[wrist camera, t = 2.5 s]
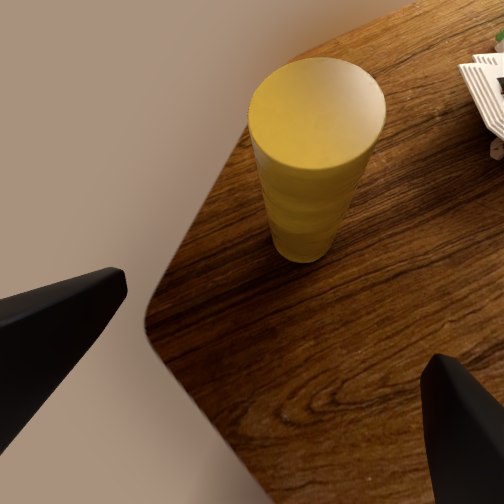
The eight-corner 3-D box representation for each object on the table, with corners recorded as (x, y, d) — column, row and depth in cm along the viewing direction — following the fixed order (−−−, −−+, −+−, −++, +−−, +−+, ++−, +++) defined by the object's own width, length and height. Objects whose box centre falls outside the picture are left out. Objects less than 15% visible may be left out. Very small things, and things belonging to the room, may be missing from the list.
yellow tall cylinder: (299, 275, 21) (308, 197, 9) (259, 231, 23) (221, 110, 10) (346, 236, 22) (418, 109, 9) (305, 195, 23) (319, 36, 11)
